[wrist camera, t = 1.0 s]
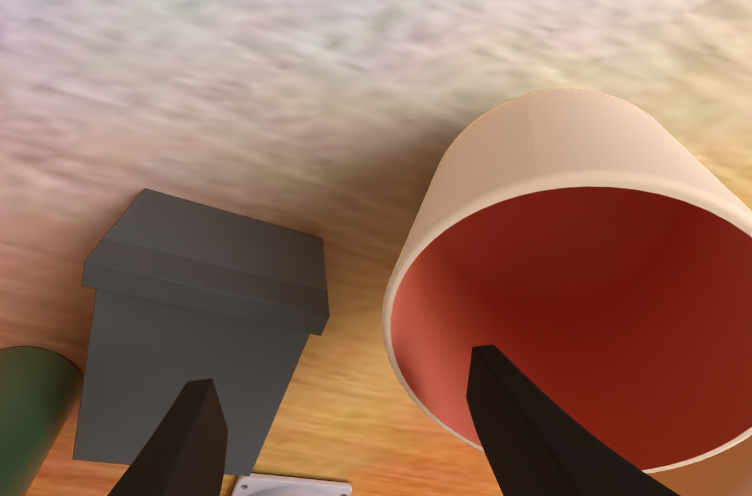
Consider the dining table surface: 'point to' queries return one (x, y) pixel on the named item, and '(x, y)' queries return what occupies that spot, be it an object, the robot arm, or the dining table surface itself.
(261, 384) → the grey channel-top block
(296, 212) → the dining table surface
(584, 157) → the cup
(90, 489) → the dining table surface
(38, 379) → the canister
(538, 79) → the dining table surface
